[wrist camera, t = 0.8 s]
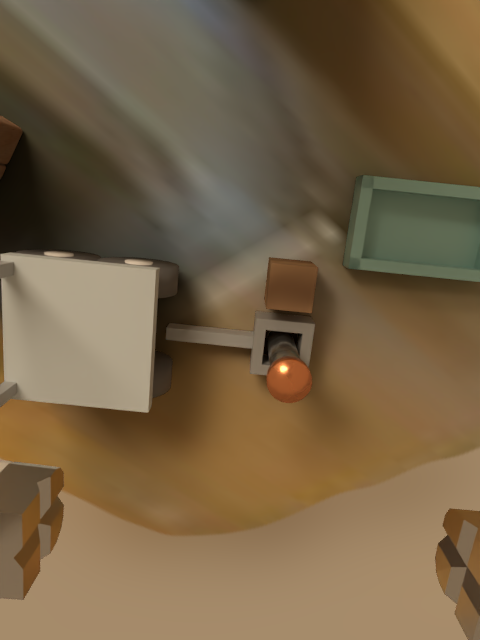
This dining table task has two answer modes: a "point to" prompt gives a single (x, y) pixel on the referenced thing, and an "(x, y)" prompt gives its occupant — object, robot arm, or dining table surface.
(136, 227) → the dining table surface
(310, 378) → the pin
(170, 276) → the trolley
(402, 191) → the tray
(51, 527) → the robot arm
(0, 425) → the dining table surface
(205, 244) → the dining table surface
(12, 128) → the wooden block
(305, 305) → the block
